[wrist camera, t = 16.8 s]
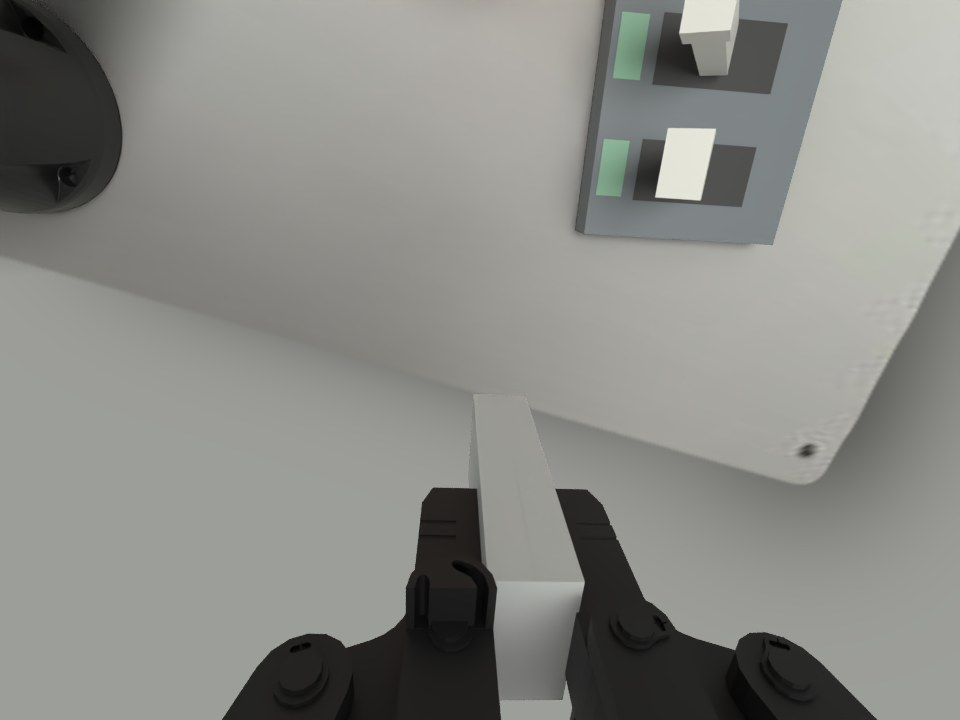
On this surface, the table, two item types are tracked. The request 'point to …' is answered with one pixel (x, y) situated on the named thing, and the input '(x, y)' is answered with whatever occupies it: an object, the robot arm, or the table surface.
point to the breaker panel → (700, 119)
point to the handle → (710, 33)
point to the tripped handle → (685, 163)
